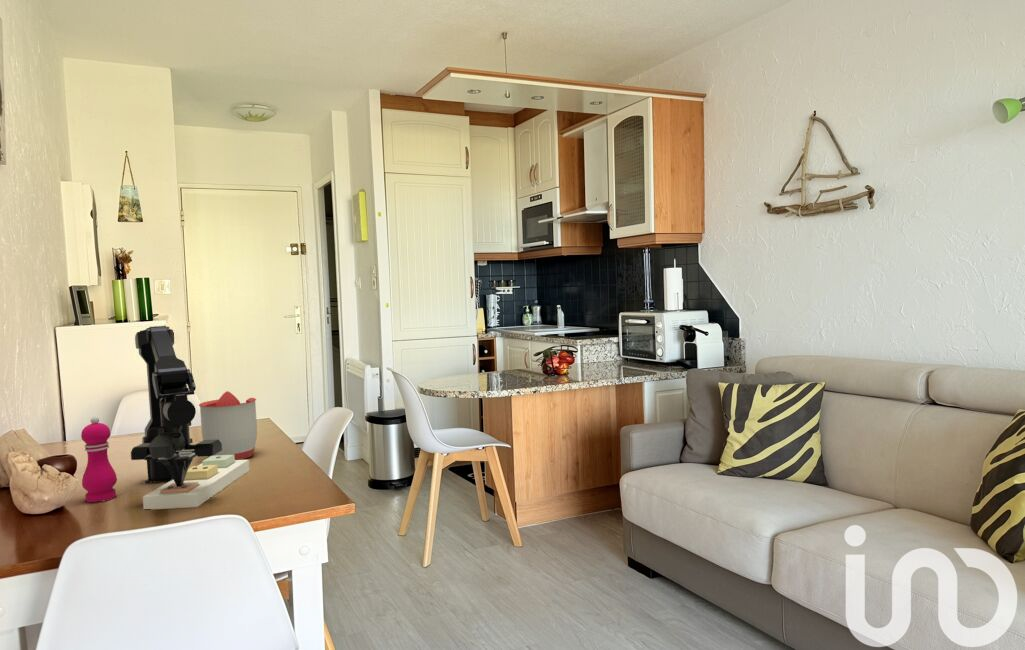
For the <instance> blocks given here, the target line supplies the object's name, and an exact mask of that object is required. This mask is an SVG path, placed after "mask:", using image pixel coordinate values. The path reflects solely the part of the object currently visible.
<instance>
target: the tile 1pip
mask: <svg viewBox="0 0 1025 650" xmlns="http://www.w3.org/2000/svg"><path fill="white" fill-rule="evenodd" d="M234 463H235V458H234V455H216V456H211V457H209V456H208V457H207V458H205V459H203V460H201V464H202V466H204V465H217V468H227V467H229V466H230V465H232V464H234Z"/></svg>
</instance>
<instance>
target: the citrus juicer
mask: <svg viewBox="0 0 1025 650" xmlns="http://www.w3.org/2000/svg"><path fill="white" fill-rule="evenodd" d="M256 401H257V398H255V397H249V398H247V399H246V400H245V402H243V403H241V401H240V400H239V399H238V398H237V397H236V396H235V395H234V394H233V393H232V392H230V391H228V390H226V391H225V392H223V393H222V395H221V396H220V397H219V399H214V400H213V399H212V400H207V401H203V402H201V403H199V404H198V406H199V410H200V423H201V435H202V437H201V438H202V441H203V440H216V439H218V440H219V441H220V442H221V444H222V451H220V452H218V453H217V454H215V455H213V456H216V455H234V458H235V460H246V459H247V458H248V459H249V457H250V458H251V457H252V456H253V455H254V451H255V449H256V444H257V442H256V441H257V435H258V424H257V423H258V421H257V412H256V410H257V409H256ZM209 457H211V456H208V458H209Z"/></svg>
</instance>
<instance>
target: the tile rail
mask: <svg viewBox="0 0 1025 650" xmlns="http://www.w3.org/2000/svg"><path fill="white" fill-rule="evenodd" d="M197 466H202V463H200V464H198V465H197ZM249 471H250V459H240V460H235V463H234V464H232V465H230V466H229V467H227V468H218V474H216V475H215V476H213V477H212V478H210V479H207V480H188V481H184V482H183V483H187V482H198V485H199V486H197V487H196V488H194V489H193V490H191V491H189V492H188V493H170V494H161V493H160V490H162V489H164V488H166V487H167V486H169V485H171V484H173V483H175V482H174V480H171V481H167V482H165V483H164V484H163V485H161V486H159V487H158V488H156V489H154V490H152V491H150V492H149V493H147V494H145V495H143V496H142V505H143V510H144V509H151V510H165V509H167V510H168V509H186V508H188V509H189V508H198V507H200V506H201V505H202V504H204V503H205V502H206V501H208V500H209V499H210V497H211V498H212V497H214V496H216V495H217V494H218V493H219V492H221V491H222V490H223V489H225V488H227V487H228V486H229V485H231V484H232V483H234V482H235V481H237V480H238V479H239V478H241V477H242V476H243V475H245V474H246V473H248V472H249ZM213 495H214V496H213Z"/></svg>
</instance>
